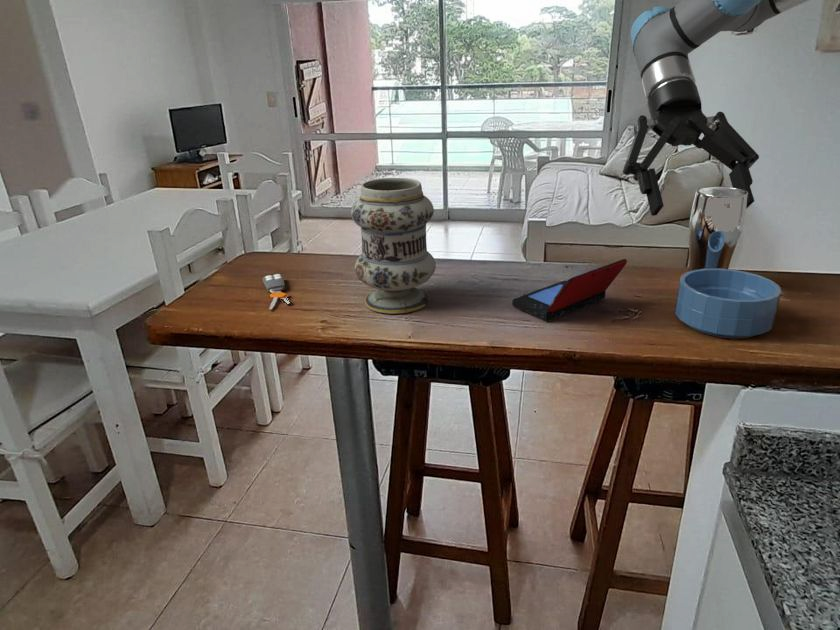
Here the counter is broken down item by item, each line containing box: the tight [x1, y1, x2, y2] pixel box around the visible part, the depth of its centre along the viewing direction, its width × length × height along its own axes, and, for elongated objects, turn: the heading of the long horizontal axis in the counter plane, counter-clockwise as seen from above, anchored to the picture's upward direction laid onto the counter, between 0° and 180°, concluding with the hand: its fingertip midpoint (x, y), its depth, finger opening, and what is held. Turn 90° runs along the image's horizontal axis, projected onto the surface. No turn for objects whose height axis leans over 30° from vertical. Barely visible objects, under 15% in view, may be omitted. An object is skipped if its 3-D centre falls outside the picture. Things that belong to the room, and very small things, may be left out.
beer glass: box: [687, 185, 748, 272], centre depth 83 cm, size 7×7×15 cm
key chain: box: [262, 273, 290, 311], centre depth 92 cm, size 13×4×2 cm, turn 19°
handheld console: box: [511, 258, 628, 322], centre depth 81 cm, size 12×11×7 cm
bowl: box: [674, 268, 782, 339], centre depth 75 cm, size 12×12×6 cm
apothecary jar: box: [350, 177, 437, 315], centre depth 84 cm, size 12×12×18 cm
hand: (702, 208), depth 85 cm, fingers open, 13 cm apart
